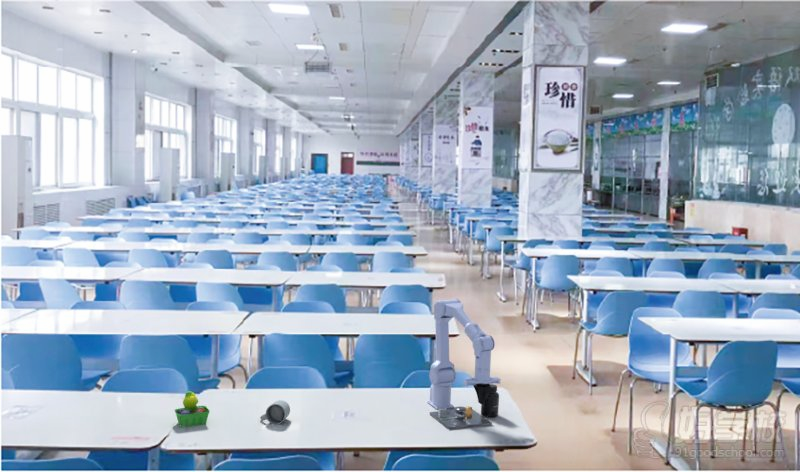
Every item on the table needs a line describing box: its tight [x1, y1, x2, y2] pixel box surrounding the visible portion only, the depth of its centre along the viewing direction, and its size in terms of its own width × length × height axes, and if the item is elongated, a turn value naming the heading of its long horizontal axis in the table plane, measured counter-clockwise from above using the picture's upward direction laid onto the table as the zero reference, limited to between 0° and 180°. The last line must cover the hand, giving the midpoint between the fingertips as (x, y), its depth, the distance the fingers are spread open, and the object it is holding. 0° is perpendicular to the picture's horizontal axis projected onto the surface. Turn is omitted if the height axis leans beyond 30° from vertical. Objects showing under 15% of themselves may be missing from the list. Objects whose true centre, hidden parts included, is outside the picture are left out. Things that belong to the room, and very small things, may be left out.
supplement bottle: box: [480, 383, 500, 419], centre depth 305 cm, size 7×7×12 cm
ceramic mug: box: [259, 399, 291, 425], centre depth 291 cm, size 11×8×8 cm
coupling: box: [453, 406, 473, 419], centre depth 296 cm, size 11×5×4 cm, turn 21°
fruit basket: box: [174, 391, 211, 428], centre depth 285 cm, size 11×9×11 cm
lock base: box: [429, 408, 493, 430], centre depth 299 cm, size 18×18×4 cm
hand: (481, 403), depth 294 cm, fingers closed
